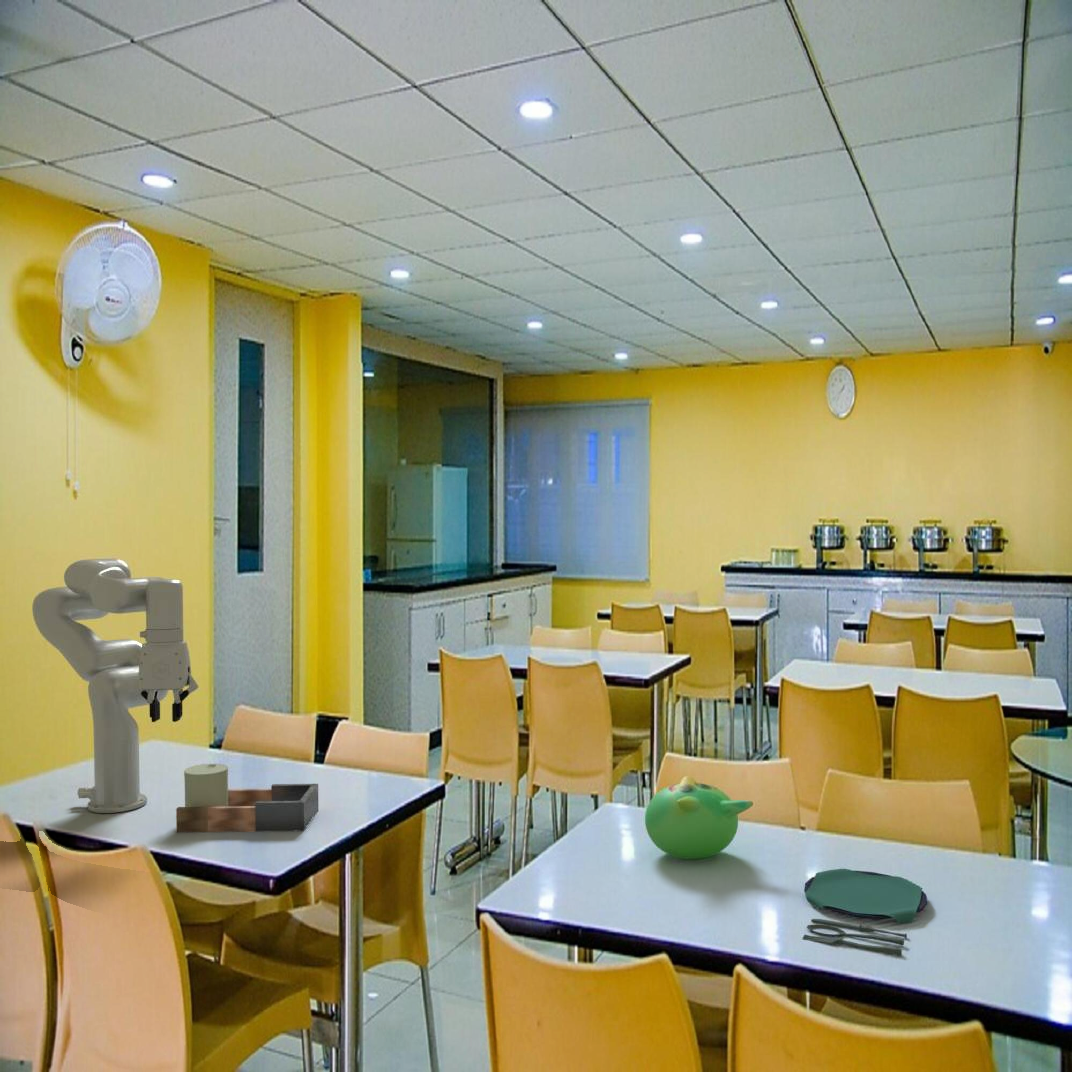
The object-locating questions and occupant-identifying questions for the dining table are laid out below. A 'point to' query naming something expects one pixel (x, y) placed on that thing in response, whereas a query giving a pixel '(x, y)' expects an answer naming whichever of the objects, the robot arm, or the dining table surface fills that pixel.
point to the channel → (223, 813)
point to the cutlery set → (863, 904)
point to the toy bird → (693, 819)
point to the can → (206, 785)
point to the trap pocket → (287, 808)
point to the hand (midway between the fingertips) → (166, 719)
